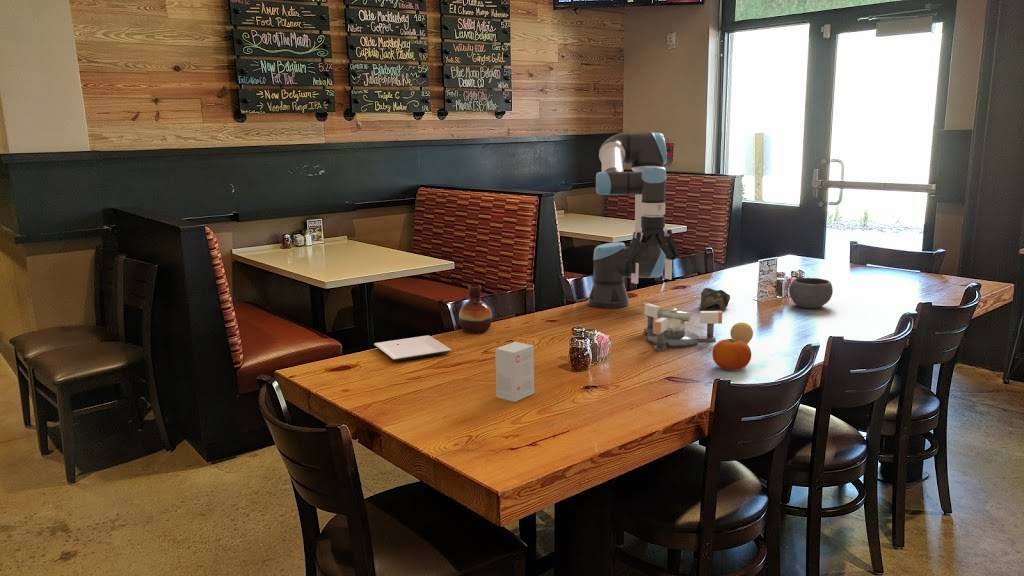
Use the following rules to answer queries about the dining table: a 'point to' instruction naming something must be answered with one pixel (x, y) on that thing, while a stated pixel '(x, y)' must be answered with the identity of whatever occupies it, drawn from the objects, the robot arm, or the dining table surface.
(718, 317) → the knob
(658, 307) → the knob
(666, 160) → the robot arm
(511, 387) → the small box
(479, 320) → the vase
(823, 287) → the bowl
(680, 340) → the tribrach
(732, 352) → the fruit
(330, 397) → the dining table surface
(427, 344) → the plate
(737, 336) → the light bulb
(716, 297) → the fossil
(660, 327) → the knob
